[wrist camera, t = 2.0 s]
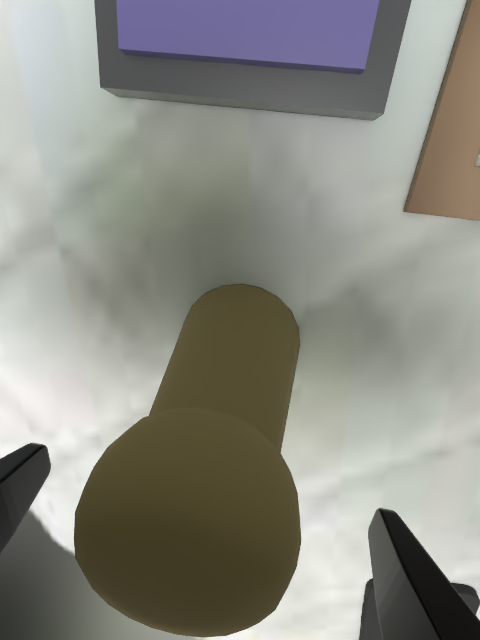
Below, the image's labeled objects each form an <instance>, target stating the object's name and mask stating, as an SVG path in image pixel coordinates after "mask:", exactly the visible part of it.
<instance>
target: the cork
mask: <svg viewBox="0 0 480 640" xmlns="http://www.w3.org/2000/svg"><path fill="white" fill-rule="evenodd" d="M299 347H300V339H299V327H298V325H297V323H296V321H295V319H294V316H293V314H292V312H291V311H290V310H289V308H288V307H287V306H286V305H285V304H284V303H283V302H282V301H281V300H280V299H279V298H278V297H276V296H275V295H273V294H271V293H269V292H267V291H266V290H264V289H262V288H259V287H254V286H249V285H245V284H235V285H225V286H221V287H218V288H216V289H214V290H212V291H209V292H207V293H205V294H204V295H203V296H202V297H201V298H200V299H199V300H198V301H197V302H195V303H194V304H193V305H192V307H191V309H190V311H189V313H188V315H187V317H186V319H185V322H184V324H183V327H182V330H181V332H180V335H179V338H178V340H177V343H176V345H175V348H174V351H173V353H172V356H171V359H170V361H169V364H168V366H167V369H166V372H165V374H164V377H163V380H162V382H161V385H160V387H159V390H158V393H157V395H156V398H155V401H154V403H153V406H152V408H151V411H150V414H149V416H147V417H144V418H142V419H141V420H139V421H138V422H137V423H136V424H134V425H133V426H132V427H131V428H129V429H128V430H127V431H126V432H125V433H123V434H122V435H121V436H120V437H119V438H118V439H117V440H115V441H114V442H113V443H112V444H111V445H110V446H108V448H107V449H106V450H105V452H104V453H103V455H102V456H101V458H100V459H99V460H98V462H97V463H96V465H95V466H94V468H93V470H92V472H91V474H90V476H89V479H88V481H87V483H86V485H85V487H84V490H83V492H82V495H81V498H80V500H79V503H78V506H77V509H76V511H75V527H74V546H75V558H76V560H77V562H78V564H79V566H80V568H81V569H82V571H83V573H84V575H85V577H86V579H87V580H88V582H89V583H90V585H91V586H92V588H93V590H95V591H96V592H97V593H98V595H99V596H100V597H101V598H102V599H104V601H105V602H107V604H109V605H110V606H112V607H113V608H115V609H116V610H118V611H120V612H121V613H122V614H124V615H125V616H127V617H128V618H131V619H133V620H135V621H138V622H140V623H142V624H144V625H147V626H149V627H151V628H154V629H158V630H162V631H165V632H169V633H173V634H177V635H185V636H194V637H214V636H226V635H230V634H233V633H236V632H239V631H242V630H245V629H247V628H249V627H251V626H253V625H256V624H258V623H259V622H261V621H262V620H263V619H264V618H266V617H267V616H268V615H270V614H271V613H272V612H273V611H275V609H276V608H277V606H278V604H279V602H280V600H281V599H282V597H283V595H284V593H285V591H286V589H287V588H288V585H289V583H290V581H291V579H292V576H293V574H294V572H295V570H296V567H297V561H298V556H299V551H300V546H301V530H300V515H299V504H298V494H297V490H296V487H295V484H294V481H293V478H292V475H291V472H290V470H289V468H288V466H287V464H286V463H285V461H284V459H283V457H282V455H281V447H282V442H283V436H284V431H285V425H286V420H287V414H288V409H289V403H290V397H291V392H292V386H293V381H294V375H295V370H296V364H297V359H298V353H299Z"/></svg>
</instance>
